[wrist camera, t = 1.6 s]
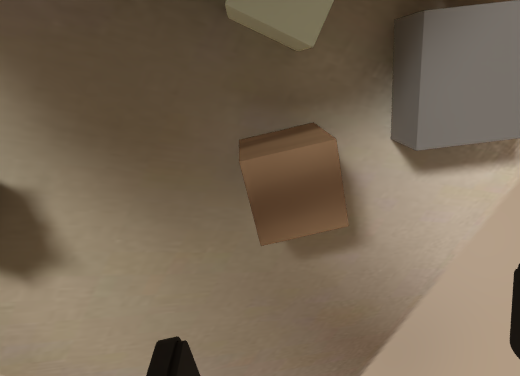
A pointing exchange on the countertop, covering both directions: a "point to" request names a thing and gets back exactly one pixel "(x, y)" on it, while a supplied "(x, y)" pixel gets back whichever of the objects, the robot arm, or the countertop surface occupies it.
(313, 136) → the walnut cube
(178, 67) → the countertop surface
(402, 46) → the base block
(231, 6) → the sage cube
